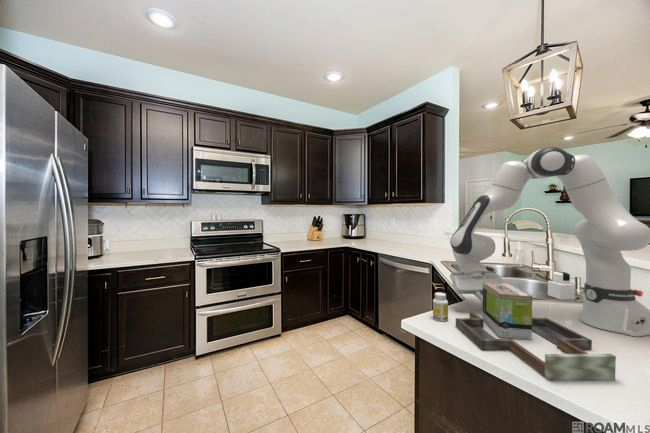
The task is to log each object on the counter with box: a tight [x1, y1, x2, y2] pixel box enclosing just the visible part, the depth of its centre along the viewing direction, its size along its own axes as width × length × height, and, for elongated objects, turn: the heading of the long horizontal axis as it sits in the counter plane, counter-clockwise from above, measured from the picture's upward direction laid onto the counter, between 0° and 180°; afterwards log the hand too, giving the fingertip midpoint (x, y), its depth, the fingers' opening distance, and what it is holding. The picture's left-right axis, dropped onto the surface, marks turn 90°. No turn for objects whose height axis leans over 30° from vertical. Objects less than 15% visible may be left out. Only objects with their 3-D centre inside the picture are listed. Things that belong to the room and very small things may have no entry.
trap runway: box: [455, 311, 617, 382], centre depth 83 cm, size 33×36×6 cm
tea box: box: [481, 283, 533, 341], centre depth 93 cm, size 15×10×15 cm, turn 168°
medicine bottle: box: [547, 271, 576, 301], centre depth 126 cm, size 7×7×12 cm
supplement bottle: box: [432, 292, 449, 322], centre depth 103 cm, size 5×5×10 cm
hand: (486, 302), depth 105 cm, fingers closed
